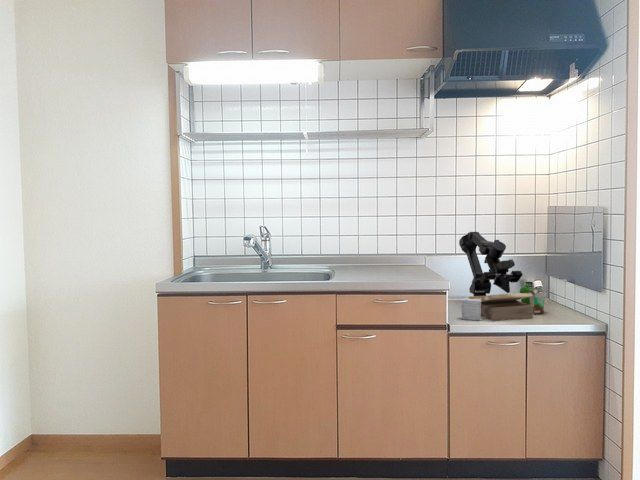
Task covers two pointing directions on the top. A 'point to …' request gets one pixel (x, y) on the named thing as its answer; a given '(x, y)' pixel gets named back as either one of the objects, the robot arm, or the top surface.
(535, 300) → the food container
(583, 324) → the top surface
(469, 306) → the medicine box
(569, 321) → the top surface
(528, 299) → the bell pepper
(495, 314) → the floor platform
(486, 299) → the pale plank
